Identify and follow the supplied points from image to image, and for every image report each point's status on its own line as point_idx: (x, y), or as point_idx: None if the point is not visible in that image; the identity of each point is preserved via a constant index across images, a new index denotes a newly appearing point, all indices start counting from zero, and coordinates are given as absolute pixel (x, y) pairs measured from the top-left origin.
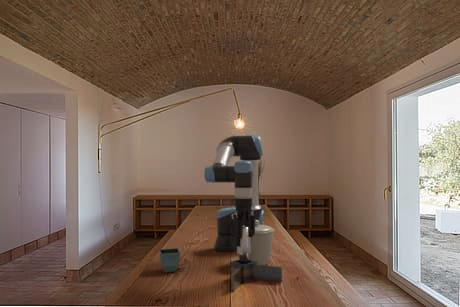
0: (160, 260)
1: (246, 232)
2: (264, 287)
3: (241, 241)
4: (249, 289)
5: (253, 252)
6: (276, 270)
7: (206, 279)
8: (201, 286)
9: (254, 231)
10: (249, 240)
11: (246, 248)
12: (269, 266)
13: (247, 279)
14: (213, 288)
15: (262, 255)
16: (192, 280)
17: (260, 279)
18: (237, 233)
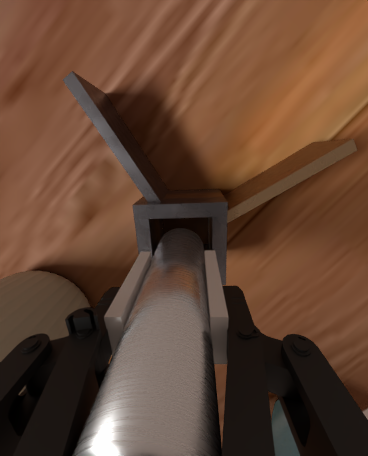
0: None
1: (162, 359)
2: (198, 96)
3: (224, 301)
4: (255, 120)
5: (54, 316)
6: (98, 102)
7: (280, 290)
8: (341, 253)
9: (7, 362)
10: (126, 297)
11: (180, 257)
12: (114, 132)
13: (200, 190)
14: (332, 215)
15: (28, 288)
16: (316, 308)
17: (154, 169)
18: (310, 382)
